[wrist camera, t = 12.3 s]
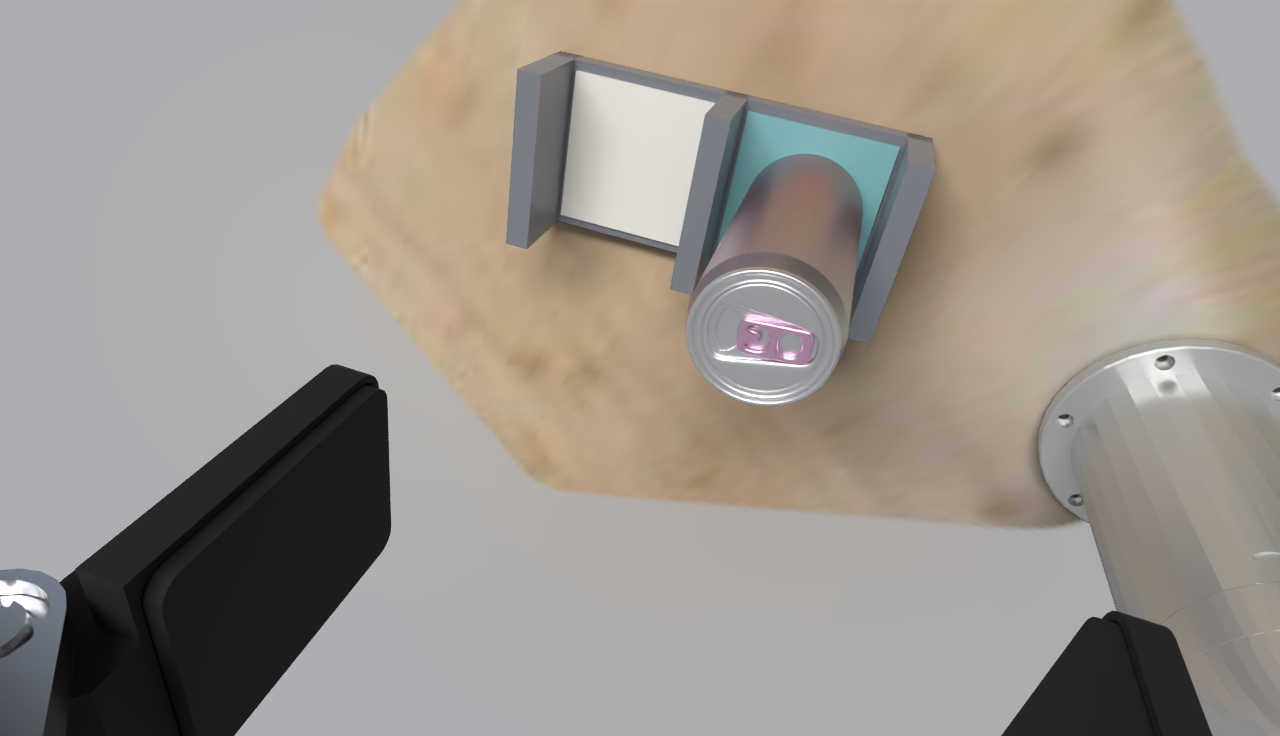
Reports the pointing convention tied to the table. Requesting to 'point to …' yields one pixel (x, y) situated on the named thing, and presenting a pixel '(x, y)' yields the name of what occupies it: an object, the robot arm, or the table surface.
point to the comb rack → (695, 167)
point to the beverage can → (780, 285)
